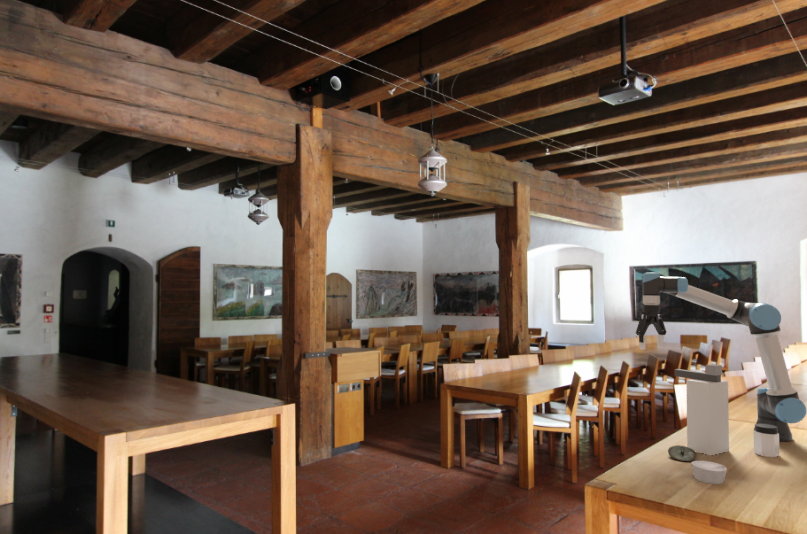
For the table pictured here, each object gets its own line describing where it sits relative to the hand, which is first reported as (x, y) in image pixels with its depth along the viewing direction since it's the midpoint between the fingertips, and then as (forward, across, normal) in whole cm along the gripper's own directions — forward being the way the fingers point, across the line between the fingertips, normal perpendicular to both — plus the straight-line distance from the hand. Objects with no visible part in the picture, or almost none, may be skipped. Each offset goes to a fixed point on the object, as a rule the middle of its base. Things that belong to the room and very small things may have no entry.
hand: (651, 348), depth 252 cm
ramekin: (+41, +36, +47) cm, 73 cm away
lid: (+41, +21, +28) cm, 54 cm away
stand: (+41, 0, +27) cm, 49 cm away
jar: (+41, -17, +42) cm, 61 cm away
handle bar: (+11, 0, +22) cm, 25 cm away
